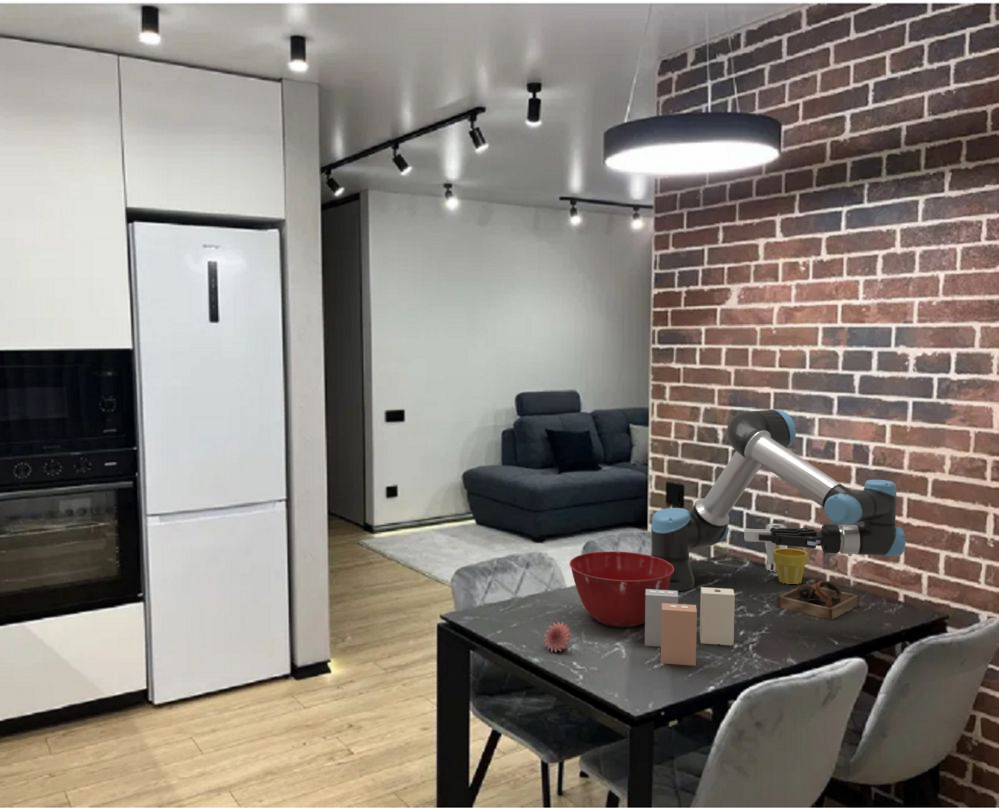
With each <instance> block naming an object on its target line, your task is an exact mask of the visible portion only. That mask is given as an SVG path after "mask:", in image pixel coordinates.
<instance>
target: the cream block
mask: <svg viewBox="0 0 999 808" xmlns="http://www.w3.org/2000/svg"><path fill="white" fill-rule="evenodd" d="M735 596H736V595H735V591H734V589H733V588H721V587H720V588H719V587H700V603H699V605H700V608H699V610H700V611H699V612H700V613H699V617H700V618H699V640H700V644H705V645H706V644H707V645H718V644H720V645H721V646H732V645H734V644H735V643H734V641H735V639H734V638H735V637H734V636H735V634H734V633H735V607H736V606H735V604H736V603H735V602H736V601H735V599H736V597H735ZM720 645H719V646H720Z"/></svg>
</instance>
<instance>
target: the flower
mask: <svg viewBox="0 0 999 808" xmlns="http://www.w3.org/2000/svg"><path fill="white" fill-rule="evenodd" d="M552 625H553V626H552ZM552 625H549V626H548V628H549V629H547V630H546V629H545V632H547V633H546V634H545V635H544V636H543V637H546V638H545V639H544V640H543V642H546V643H545V645H544V647H546V646H548V647H547V651H549V650H550V653H553V651H554V652H555V653H558V651H559V652H562V650H565V649H566V648H567V646H568V645H570V640H571V639H572V637H570V636H571V634H572V631H570V629H571V628H570V626H569V627H568V623H565V624H564V621H562V622H561V623H560V621H557V624H556V623H555V622H552Z"/></svg>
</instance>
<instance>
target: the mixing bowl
mask: <svg viewBox="0 0 999 808" xmlns="http://www.w3.org/2000/svg"><path fill="white" fill-rule="evenodd" d="M569 567H570V569H571V573H572V577H573V581H574V584H575V587H576V591H577V593H578V596H579V599H580V600H581V603H582V605H583V607H584V609H585V610H586V612H587V614H589V615H590V617H592V618H594V619H595V620H597V621H598V622H599V623H601V624H603V625H606V626H611V627H618V628H633V627H637V626H640V625H642V624H645V598H646V589H654V590H667V589H668V586H669V583H670V580H671V576H672V573H673V572H674V567H673V565H672V564H670V563H669V562H667V561H665V560H663V559H660V558H657V557H654V556H651V555H649V554H645V553H644V554H643V553H637V552H630V551H617V550H616V551H613V550H612V551H596V552H595V551H594V552H587V553H583V554H579V555H577V556H574V557H573V558H572V559H570V561H569Z"/></svg>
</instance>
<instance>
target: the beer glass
mask: <svg viewBox="0 0 999 808" xmlns="http://www.w3.org/2000/svg"><path fill="white" fill-rule="evenodd" d="M771 528H788V527H787V525H785V524H781V523H767V524H766V525H765V530H771ZM764 543H765V550H766V557H767V558H766V564H765V570H766V569H767V570H766V571H768V570H770V571H769V572H772V571H774V572H773V573H777V568H776V563H775V562H774V561H773V551H774V550H776V549H781V548H787V546H785V545H776V544H775V543H772V542H764Z"/></svg>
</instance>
